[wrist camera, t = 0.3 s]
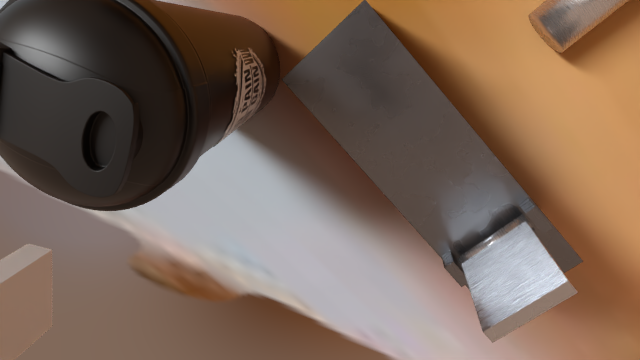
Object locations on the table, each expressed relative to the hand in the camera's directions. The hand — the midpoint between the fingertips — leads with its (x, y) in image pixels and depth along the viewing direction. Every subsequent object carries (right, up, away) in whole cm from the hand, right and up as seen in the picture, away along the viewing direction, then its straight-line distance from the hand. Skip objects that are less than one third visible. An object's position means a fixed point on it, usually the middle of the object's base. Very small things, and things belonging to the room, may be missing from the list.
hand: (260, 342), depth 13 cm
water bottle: (-6, +14, +25) cm, 30 cm away
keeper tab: (+13, +1, +16) cm, 21 cm away
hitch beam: (+10, +8, +25) cm, 28 cm away
